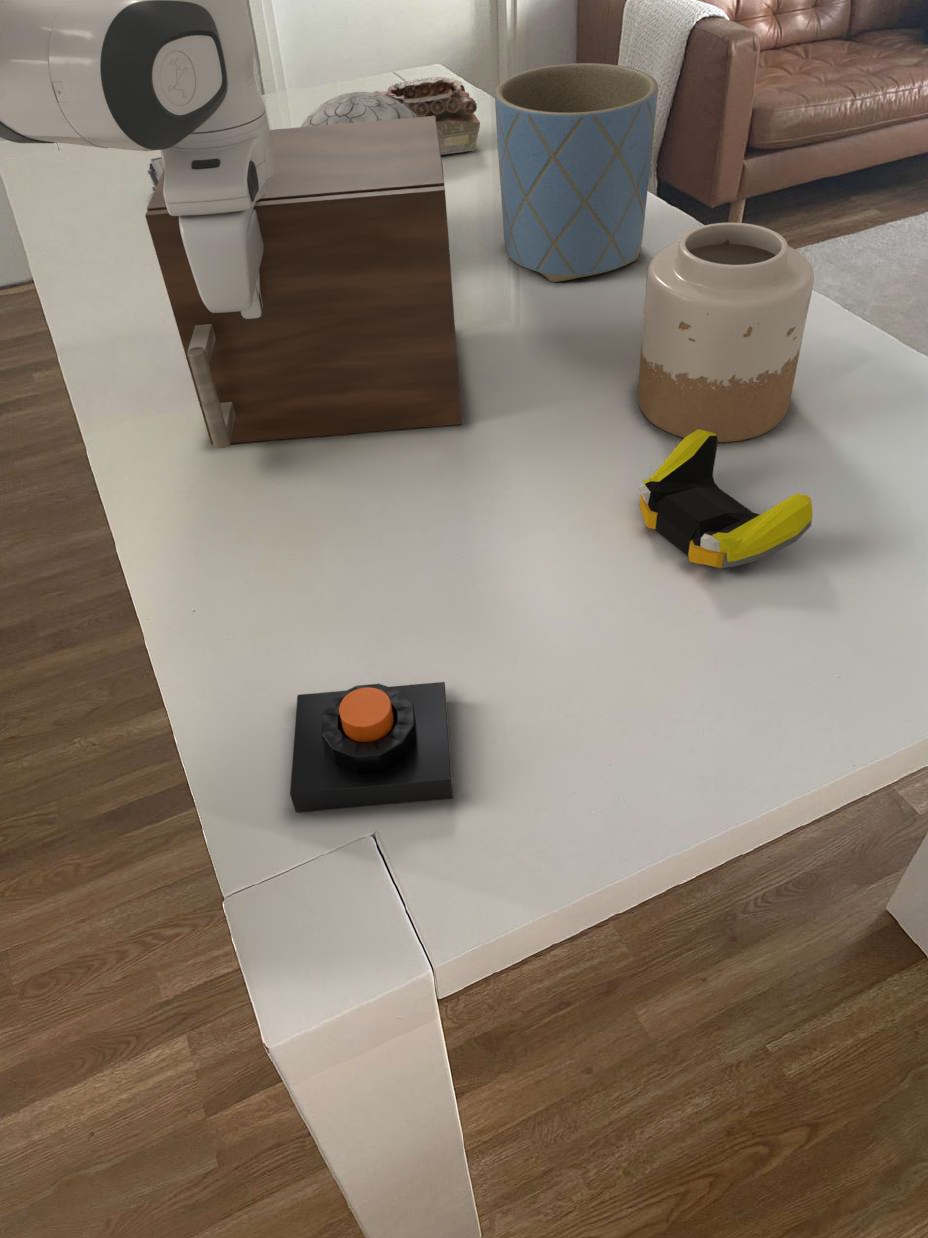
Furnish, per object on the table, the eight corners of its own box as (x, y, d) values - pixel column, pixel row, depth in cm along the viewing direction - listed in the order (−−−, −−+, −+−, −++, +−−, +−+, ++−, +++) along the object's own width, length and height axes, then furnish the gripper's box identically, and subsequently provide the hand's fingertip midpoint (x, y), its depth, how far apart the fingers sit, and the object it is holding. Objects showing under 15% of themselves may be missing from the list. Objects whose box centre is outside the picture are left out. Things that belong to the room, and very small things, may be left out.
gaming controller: (697, 467, 93) (613, 505, 90) (704, 418, 89) (616, 456, 86) (815, 551, 83) (726, 597, 80) (828, 500, 80) (735, 546, 76)
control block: (295, 812, 67) (284, 778, 65) (302, 713, 74) (292, 678, 71) (453, 798, 68) (449, 763, 65) (446, 700, 74) (442, 665, 71)
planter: (675, 262, 124) (691, 91, 110) (543, 299, 119) (543, 125, 105) (597, 212, 137) (603, 53, 123) (475, 243, 132) (467, 81, 118)
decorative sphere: (354, 218, 140) (332, 64, 126) (475, 238, 133) (466, 77, 119) (272, 276, 128) (239, 113, 114) (400, 302, 121) (381, 131, 107)
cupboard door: (465, 456, 96) (448, 216, 80) (203, 478, 96) (132, 243, 80) (461, 418, 101) (444, 185, 85) (212, 439, 101) (146, 210, 85)
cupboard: (461, 418, 101) (444, 182, 85) (212, 440, 101) (146, 208, 85) (451, 334, 114) (435, 115, 98) (231, 353, 114) (177, 137, 97)
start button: (342, 745, 67) (338, 729, 66) (343, 705, 69) (339, 689, 68) (394, 740, 67) (391, 724, 66) (393, 701, 69) (390, 684, 68)
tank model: (487, 164, 152) (484, 96, 146) (360, 179, 151) (351, 112, 144) (474, 136, 162) (471, 71, 155) (354, 150, 161) (346, 85, 154)
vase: (796, 374, 104) (828, 216, 92) (778, 454, 94) (811, 289, 82) (654, 356, 108) (667, 204, 96) (622, 431, 98) (632, 271, 86)
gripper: (198, 117, 87) (232, 268, 96) (158, 202, 72) (203, 371, 81) (268, 112, 87) (295, 263, 96) (243, 196, 72) (278, 365, 81)
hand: (253, 313), depth 89 cm, fingers closed
